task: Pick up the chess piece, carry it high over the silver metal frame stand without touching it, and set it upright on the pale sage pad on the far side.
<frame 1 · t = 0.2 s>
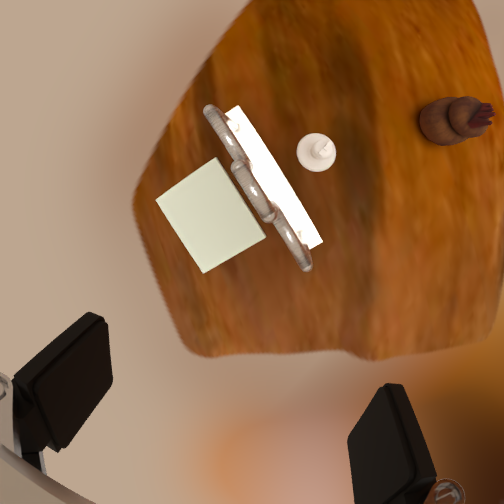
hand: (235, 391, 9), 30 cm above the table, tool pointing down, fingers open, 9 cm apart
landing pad: (210, 216, 38), on the table
chess piece: (316, 152, 34), on the table
silver metal frame stand: (268, 180, 36), on the table
wooden figurine: (432, 124, 31), on the table
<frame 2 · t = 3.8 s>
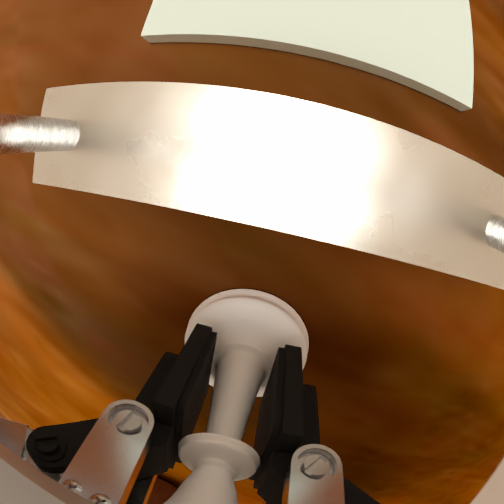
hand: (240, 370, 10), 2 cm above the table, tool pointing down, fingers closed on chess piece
chess piece: (247, 341, 12), on the table, touching gripper
silver metal frame stand: (288, 164, 9), on the table
wooden figurine: (159, 483, 17), on the table
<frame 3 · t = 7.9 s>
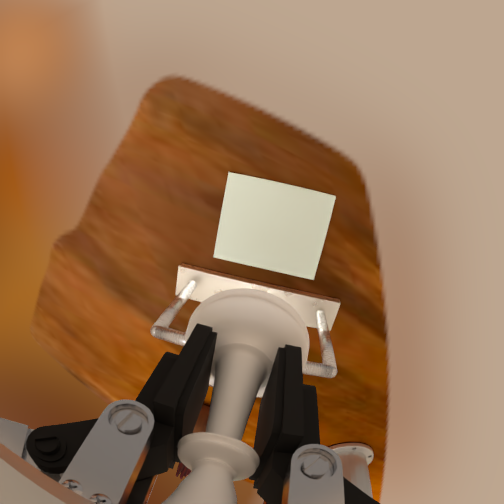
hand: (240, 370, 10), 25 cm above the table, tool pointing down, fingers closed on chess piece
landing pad: (273, 225, 33), on the table
chess piece: (247, 341, 11), point 23 cm above the table, touching gripper
silver metal frame stand: (257, 296, 36), on the table
wooden figurine: (204, 411, 44), on the table
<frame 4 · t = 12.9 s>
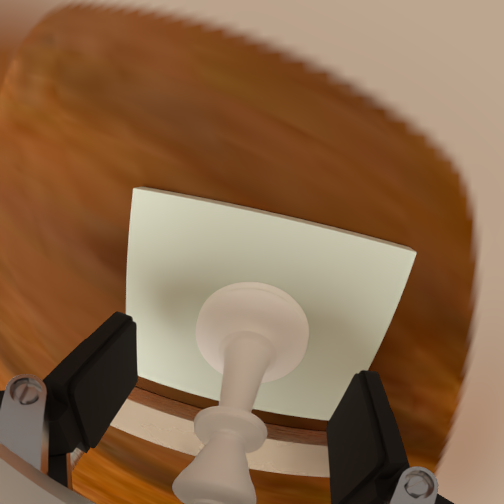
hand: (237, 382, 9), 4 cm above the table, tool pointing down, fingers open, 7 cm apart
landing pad: (252, 320, 13), on the table
chess piece: (252, 330, 13), point 1 cm above the table, touching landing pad
silver metal frame stand: (224, 433, 16), on the table
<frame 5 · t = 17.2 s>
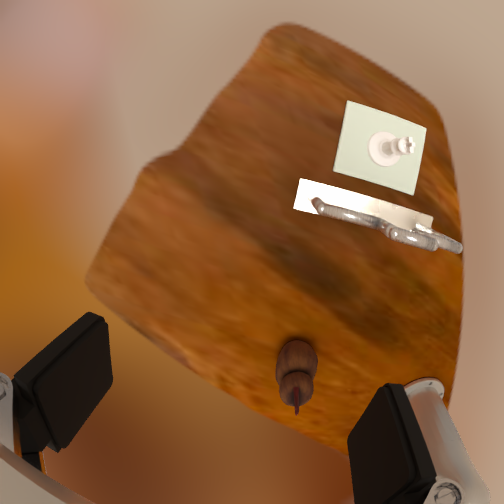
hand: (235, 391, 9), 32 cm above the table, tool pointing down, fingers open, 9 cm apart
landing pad: (381, 148, 35), on the table
chess piece: (383, 149, 34), point 1 cm above the table, touching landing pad
silver metal frame stand: (366, 210, 38), on the table
wooden figurine: (295, 350, 45), on the table
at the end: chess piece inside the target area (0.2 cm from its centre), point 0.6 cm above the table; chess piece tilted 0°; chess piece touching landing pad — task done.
